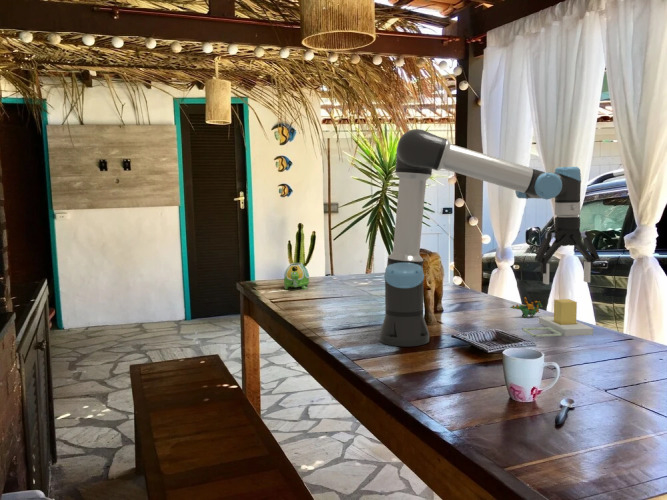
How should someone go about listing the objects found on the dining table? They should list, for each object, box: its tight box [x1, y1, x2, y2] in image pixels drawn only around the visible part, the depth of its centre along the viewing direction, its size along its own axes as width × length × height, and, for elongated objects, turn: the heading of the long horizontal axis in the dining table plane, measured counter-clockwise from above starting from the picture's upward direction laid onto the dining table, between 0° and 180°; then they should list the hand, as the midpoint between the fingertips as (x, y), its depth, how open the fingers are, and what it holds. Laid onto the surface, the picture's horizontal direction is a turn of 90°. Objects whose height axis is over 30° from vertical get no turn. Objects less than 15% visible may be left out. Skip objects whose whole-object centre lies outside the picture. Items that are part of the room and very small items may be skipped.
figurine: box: [509, 296, 543, 319], centre depth 203 cm, size 3×12×8 cm, turn 95°
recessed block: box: [538, 315, 594, 337], centre depth 186 cm, size 9×18×3 cm, turn 5°
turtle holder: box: [283, 262, 310, 290], centre depth 278 cm, size 12×18×12 cm
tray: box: [521, 326, 564, 338], centre depth 182 cm, size 9×9×2 cm
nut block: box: [553, 298, 578, 325], centre depth 186 cm, size 5×5×9 cm
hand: (566, 282), depth 185 cm, fingers open, 13 cm apart
